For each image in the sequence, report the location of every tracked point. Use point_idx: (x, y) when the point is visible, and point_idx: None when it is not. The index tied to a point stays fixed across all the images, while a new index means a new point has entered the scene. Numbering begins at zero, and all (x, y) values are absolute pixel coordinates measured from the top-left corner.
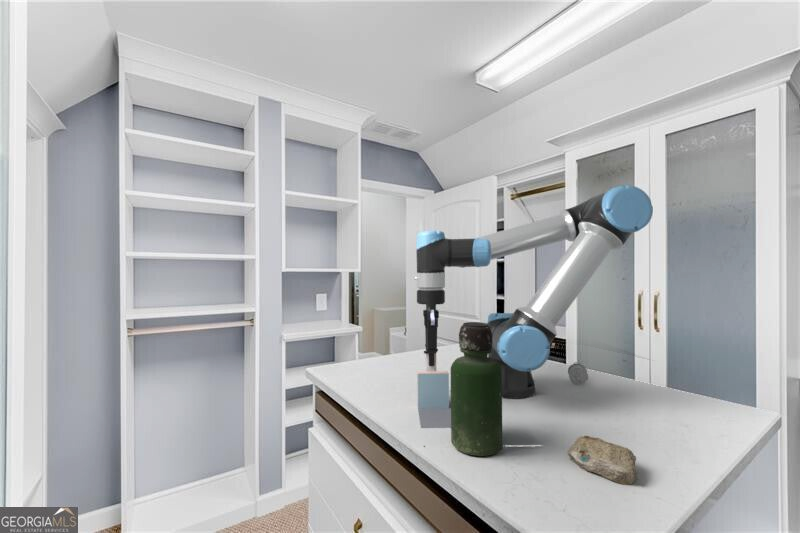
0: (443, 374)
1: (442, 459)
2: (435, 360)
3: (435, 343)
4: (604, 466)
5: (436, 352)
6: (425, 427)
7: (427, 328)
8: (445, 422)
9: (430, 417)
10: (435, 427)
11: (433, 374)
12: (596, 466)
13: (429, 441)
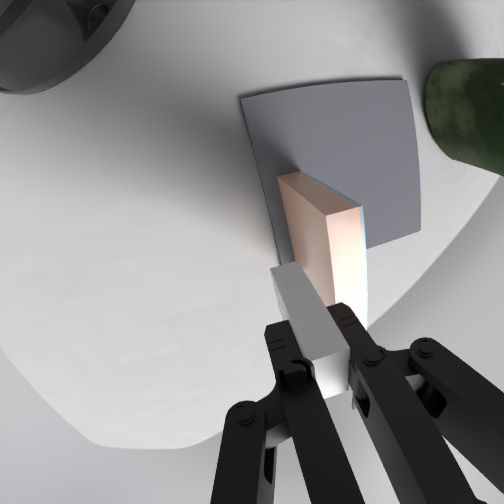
0: (362, 231)
1: (487, 177)
2: (329, 318)
3: (477, 380)
4: None
5: (425, 338)
6: (419, 220)
7: (496, 483)
8: (397, 175)
9: (372, 218)
10: (420, 198)
11: (364, 277)
12: None
13: (451, 203)
